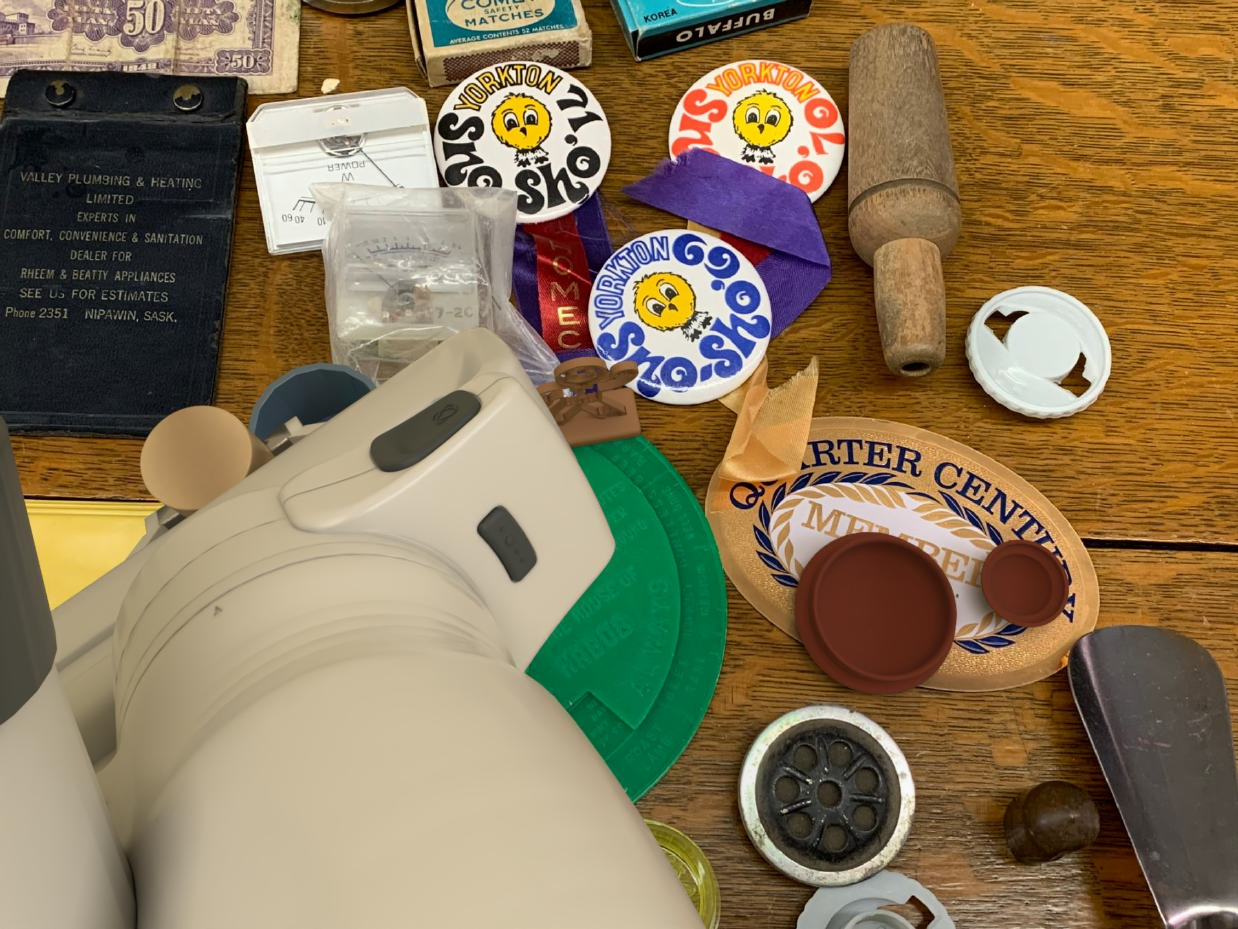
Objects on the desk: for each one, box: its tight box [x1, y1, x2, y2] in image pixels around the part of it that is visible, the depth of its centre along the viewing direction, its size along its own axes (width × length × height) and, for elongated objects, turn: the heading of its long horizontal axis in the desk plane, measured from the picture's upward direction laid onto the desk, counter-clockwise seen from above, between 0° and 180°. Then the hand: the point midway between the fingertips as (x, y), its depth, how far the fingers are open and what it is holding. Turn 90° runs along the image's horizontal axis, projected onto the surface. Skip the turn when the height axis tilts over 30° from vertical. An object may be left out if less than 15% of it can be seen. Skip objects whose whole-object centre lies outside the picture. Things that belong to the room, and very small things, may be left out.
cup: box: [247, 362, 378, 445], centre depth 68 cm, size 9×9×9 cm
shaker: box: [139, 405, 275, 518], centre depth 36 cm, size 4×4×10 cm
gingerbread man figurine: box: [535, 356, 642, 449], centre depth 69 cm, size 9×4×12 cm, turn 101°
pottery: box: [794, 531, 1070, 696], centre depth 69 cm, size 12×20×4 cm, turn 100°
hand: (235, 479), depth 36 cm, fingers closed on shaker, 3 cm apart
